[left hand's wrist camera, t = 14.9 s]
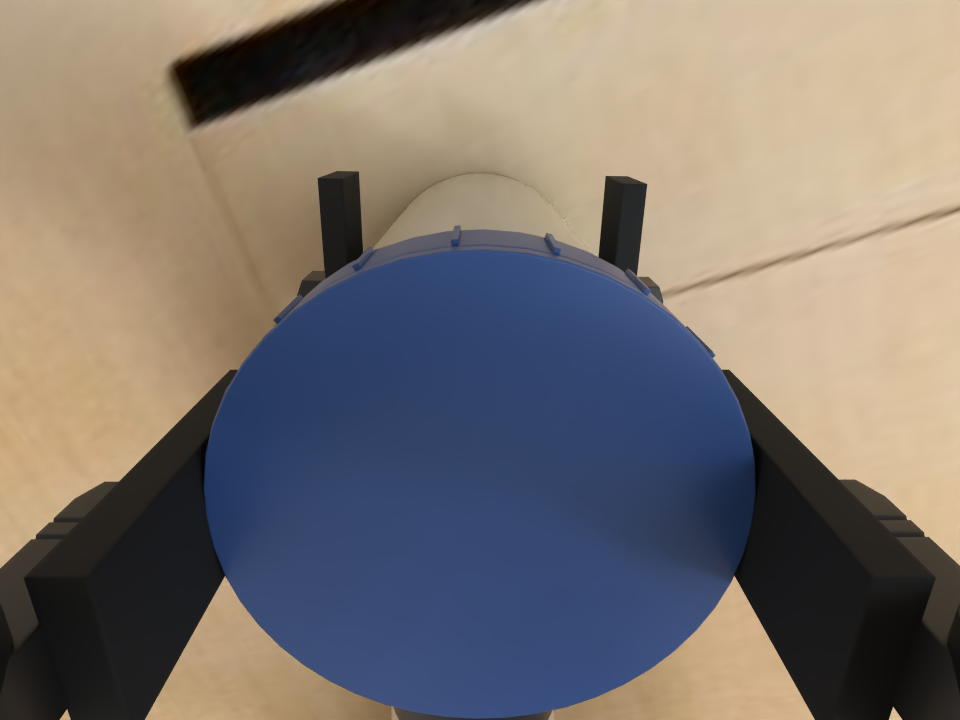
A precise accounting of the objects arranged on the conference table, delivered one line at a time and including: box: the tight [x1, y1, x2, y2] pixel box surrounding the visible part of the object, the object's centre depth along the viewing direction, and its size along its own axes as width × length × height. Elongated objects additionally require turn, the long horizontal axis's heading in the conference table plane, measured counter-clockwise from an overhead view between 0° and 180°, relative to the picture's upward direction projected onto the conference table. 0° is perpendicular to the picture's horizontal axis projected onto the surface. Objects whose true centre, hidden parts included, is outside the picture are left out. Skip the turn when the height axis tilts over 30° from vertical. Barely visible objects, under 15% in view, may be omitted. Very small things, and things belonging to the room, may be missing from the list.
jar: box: [373, 173, 592, 254], centre depth 19 cm, size 9×9×18 cm
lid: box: [203, 225, 756, 719], centre depth 11 cm, size 10×10×2 cm
